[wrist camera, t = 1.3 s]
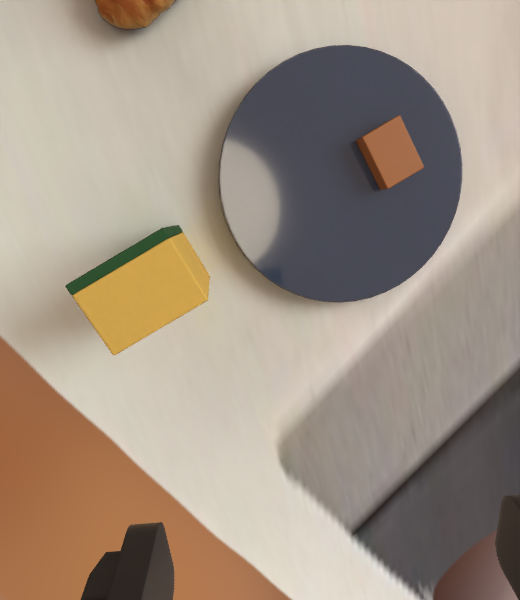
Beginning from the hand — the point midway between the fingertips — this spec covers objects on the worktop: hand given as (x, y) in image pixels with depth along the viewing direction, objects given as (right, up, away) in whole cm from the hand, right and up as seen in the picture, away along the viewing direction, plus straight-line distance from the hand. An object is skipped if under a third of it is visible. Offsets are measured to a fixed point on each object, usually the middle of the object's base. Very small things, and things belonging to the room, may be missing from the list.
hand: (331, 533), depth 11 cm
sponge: (-9, +8, +23) cm, 26 cm away
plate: (+4, +14, +23) cm, 27 cm away
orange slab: (+7, +16, +22) cm, 28 cm away
